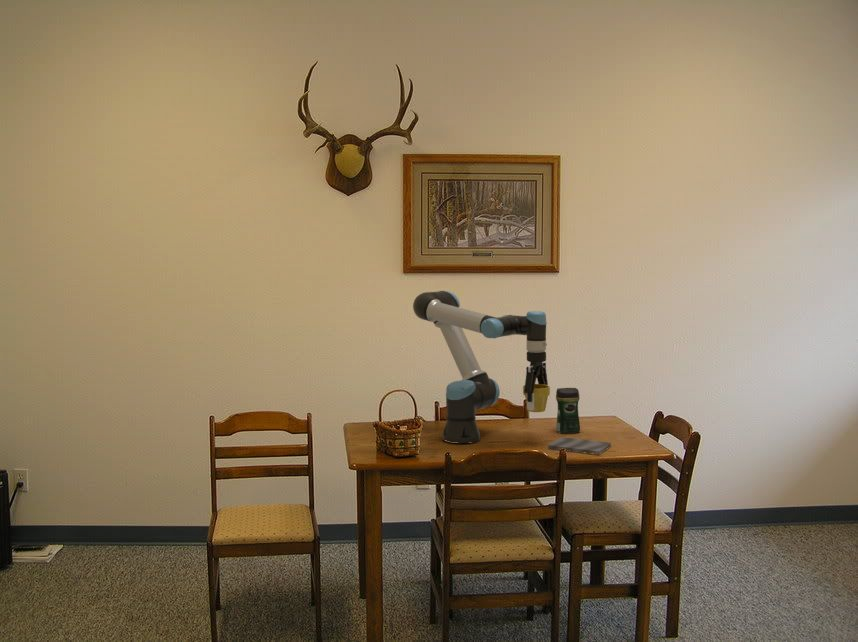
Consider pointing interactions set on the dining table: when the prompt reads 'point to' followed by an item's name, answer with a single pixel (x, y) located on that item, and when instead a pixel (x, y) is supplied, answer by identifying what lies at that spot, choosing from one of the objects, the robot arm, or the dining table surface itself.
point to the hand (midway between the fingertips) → (536, 407)
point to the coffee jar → (567, 410)
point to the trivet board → (579, 445)
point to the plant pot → (539, 397)
